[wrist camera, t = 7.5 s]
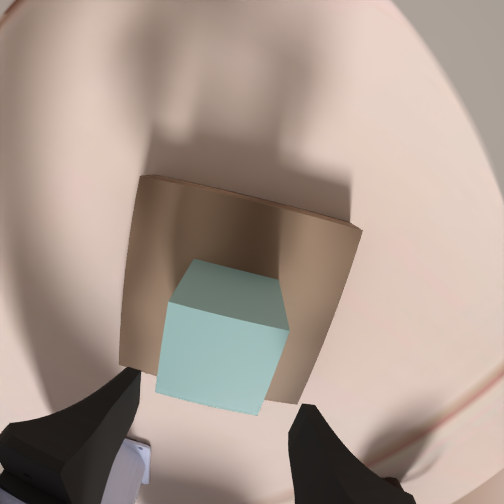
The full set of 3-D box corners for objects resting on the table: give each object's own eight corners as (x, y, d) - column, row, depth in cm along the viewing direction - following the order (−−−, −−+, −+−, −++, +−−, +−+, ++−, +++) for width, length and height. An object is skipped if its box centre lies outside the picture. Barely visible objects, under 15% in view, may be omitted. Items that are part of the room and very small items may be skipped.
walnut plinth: (129, 346, 23) (118, 364, 20) (152, 174, 19) (139, 176, 17) (293, 383, 23) (297, 404, 21) (350, 222, 20) (362, 230, 18)
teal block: (179, 332, 19) (155, 392, 14) (193, 258, 18) (168, 301, 12) (256, 350, 20) (257, 415, 14) (278, 279, 18) (289, 331, 13)
